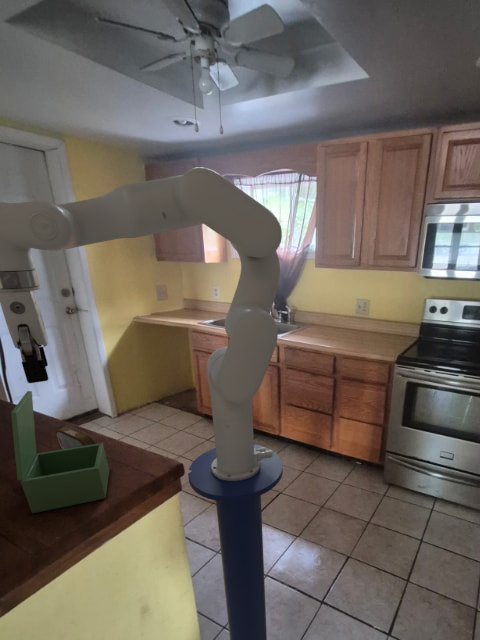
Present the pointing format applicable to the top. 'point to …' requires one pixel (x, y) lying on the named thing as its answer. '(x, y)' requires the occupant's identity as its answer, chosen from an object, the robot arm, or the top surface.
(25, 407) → the lid
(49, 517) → the top surface
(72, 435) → the tin
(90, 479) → the chest
